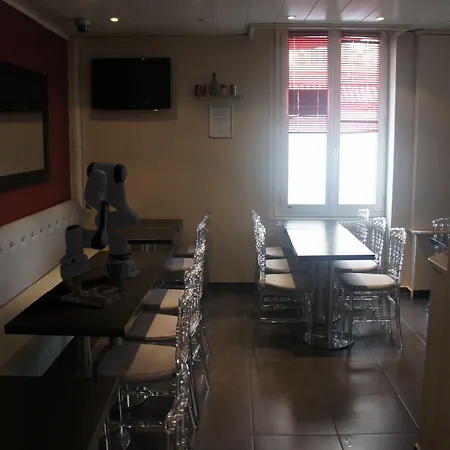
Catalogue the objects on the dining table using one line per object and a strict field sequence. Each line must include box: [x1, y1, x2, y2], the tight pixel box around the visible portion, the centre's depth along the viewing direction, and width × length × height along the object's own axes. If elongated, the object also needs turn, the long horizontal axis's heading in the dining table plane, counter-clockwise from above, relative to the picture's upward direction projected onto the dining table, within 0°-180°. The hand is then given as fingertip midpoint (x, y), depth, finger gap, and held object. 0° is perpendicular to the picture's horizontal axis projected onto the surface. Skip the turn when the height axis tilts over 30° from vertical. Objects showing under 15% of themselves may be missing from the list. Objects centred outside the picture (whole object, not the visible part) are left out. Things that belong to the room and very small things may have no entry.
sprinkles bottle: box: [72, 271, 82, 298], centre depth 283 cm, size 5×5×14 cm
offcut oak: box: [110, 288, 119, 296], centre depth 282 cm, size 5×4×5 cm
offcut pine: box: [102, 290, 113, 298], centre depth 276 cm, size 4×4×6 cm
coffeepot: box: [105, 257, 125, 289], centre depth 300 cm, size 15×9×18 cm, turn 25°
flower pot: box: [62, 278, 73, 292], centre depth 299 cm, size 10×10×7 cm
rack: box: [78, 285, 125, 309], centre depth 278 cm, size 18×14×5 cm
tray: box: [59, 289, 88, 304], centre depth 284 cm, size 14×10×2 cm
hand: (76, 283), depth 283 cm, fingers open, 8 cm apart
